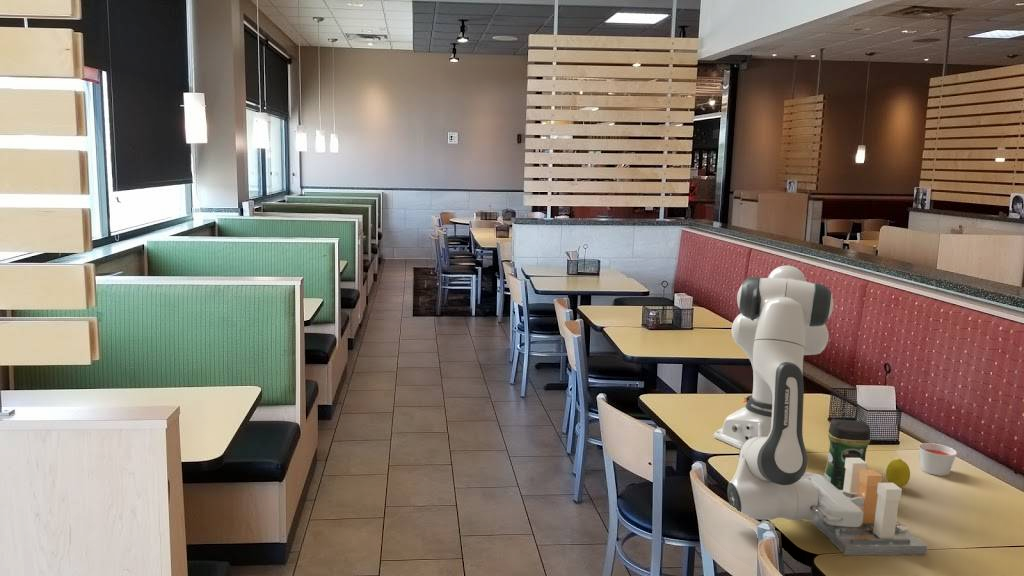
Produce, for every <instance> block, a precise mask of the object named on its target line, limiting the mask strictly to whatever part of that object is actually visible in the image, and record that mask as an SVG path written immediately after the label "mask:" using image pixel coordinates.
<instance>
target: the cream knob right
mask: <svg viewBox="0 0 1024 576" xmlns="http://www.w3.org/2000/svg"><path fill="white" fill-rule="evenodd" d="M902 491H903V489H902V487H898V486H897V485H895V484H894V483H889V482H882V483H878V487H877V494H878V498H877V506H876V514H875V521H874V529H873V533H874V534H876V535H877V536H878V537H879V538H880V539H894V534H895V527H896V521H897V518H898V510H899V502H900V501H901V499H902Z"/></svg>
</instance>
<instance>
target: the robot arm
mask: <svg viewBox="0 0 1024 576" xmlns="http://www.w3.org/2000/svg"><path fill="white" fill-rule="evenodd" d="M736 302H737V303H736V304H737V306H738V307H737V308H738V311H739V314H738V315H736V317H735V318H734V320H733V322H732V324H731V335H732V340H733V341H734V342H735V344H736V345H737V346H739V347H740V348H741V349H742V351H743V352H744V353H745V354H746V356H747V357H748V359H749V362H750V363H751V367H752V371H753V372H752V375H753V383H752V394H751V395H747V396H746V397H744V398H743V401H742V403H746V405H745V406H743V407H742V408H739V409H738V410H736V411H734V412H732V413H730V414H729V415H728V416H726V417H725V419H724V422H723V425H722V427H721V428H718V429H717V430H716V431H715V432H714V434H713V438H714V439H717V440H719V441H721V442H724V443H726V444H728V445H730V446H732V447H733V448H734V447H735V448H737V449H740V450H739V454H738V455H739V456H738V458H739V460H738V464H737V468H736V471H735V473H734V475H733V477H732V479H731V480H730V481H729V482H728V485H727V490H726V491H727V498H728V502H729V505H730V506H731V505H732V506H733V507H735V508H736V509H737V510H738V511H740V512H742V513H744V514H746V515H748V516H749V517H751V518H753V519H752V520H763V521H764V520H767V521H768V520H770V521H771V520H775V519H785V520H791V521H792V520H793V521H796V520H797V521H800V520H801V521H802V520H805V521H806V520H808V521H809V520H810V521H811V520H812V519H813V518H814V517H815V516H816V514H817V515H818V517H819V518H820V519H823V520H824V521H825V522H826V523H828V524H830V525H834V526H844V527H859V526H861V525H862V522H863V511H862V510H861V509H860V508H859V507H858V506H863V505H864V501H865V499H864V498H863V497H861V496H860V495H859V494H858V493H850V492H847V491H843V490H838V489H837V488H836V487H835V486H834V485H833V484H831V483H830V482H829V481H828V480H827V479H826V478H825V477H824V475H823V474H819V473H814V472H807V468H808V462H809V461H808V453H807V450H806V446H805V442H804V436H803V425H804V424H803V421H804V419H803V417H804V395H805V394H804V392H805V391H804V388H805V387H804V374H803V365H804V357H805V356H811V355H819V354H821V353H822V352H823V351H824V350H825V349H826V348H827V345H828V342H829V337H830V336H829V330H828V328H827V325H826V323H828V320H829V319H830V318H831V315H832V313H833V310H834V305H835V304H834V298H833V295H832V291H831V289H830V288H828V286H826V285H823V284H822V283H818V282H810V281H807V279H806V276H805V275H804V273H803V272H802V271H801V270H800V269H799V268H797V267H796V266H793V265H780V266H777V267H776V268H774V269H773V270H772V271H771V272H770V273H769V275H768V277H760V276H751V277H747V278H745V280H742V283H741V285H740V287H739V289H738V291H737V294H736Z"/></svg>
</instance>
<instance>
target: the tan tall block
mask: <svg viewBox="0 0 1024 576" xmlns="http://www.w3.org/2000/svg"><path fill="white" fill-rule="evenodd" d="M859 481H860V482H859V490H858V494H859V495H860V496H861V497H863V498H864V499H865V501H864V505H863V506H858V507H859V508H860V509H861V510H862V511H863V522H862V523H874V521H875V514H876V506H877V498H878V494H877V487H878V483H883V475H882V474H881V473H879V472H878V471H876V470H875V469H867V470H860V472H859Z"/></svg>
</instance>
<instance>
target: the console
mask: <svg viewBox="0 0 1024 576" xmlns="http://www.w3.org/2000/svg"><path fill="white" fill-rule="evenodd" d="M810 521H811V523H813V524H814V525H815V526H816V527H817V529H819V530H820V531H821V533H823V534H824V535H825V537H826V538H827V539H828V540H829V541H830V542H832V543H833V545H835V546H836V548H837V549H839V551H841V553H842V554H843V555H844V554H845V555H844V556H901V555H902V556H906V555H907V556H910V555H911V556H913V555H914V556H919V555H920V556H921V555H922V556H923V555H924V556H926V555H927V550H928V549H927V548H928V545H926V544H925V543H924V542H923V541H922V540H920V539H919V538H918V537H917V536H916V535H915V534H913V533H912V532H911V531H910V530H908V527H907V525H905V524H903V523H900V522H899V521H897V520H896V527H895V534H894V539H880V538H879V537H878V536H877V535H876V534H874V533H873V529H874V523H862V525H861V526H859V527H844V526H834V525H830V524H828V523H826V522H825V521H824V520H823V519H820V518H819V517H818V515H817V514H816V516H815V517H814V518H813V519H812V520H810Z"/></svg>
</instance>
